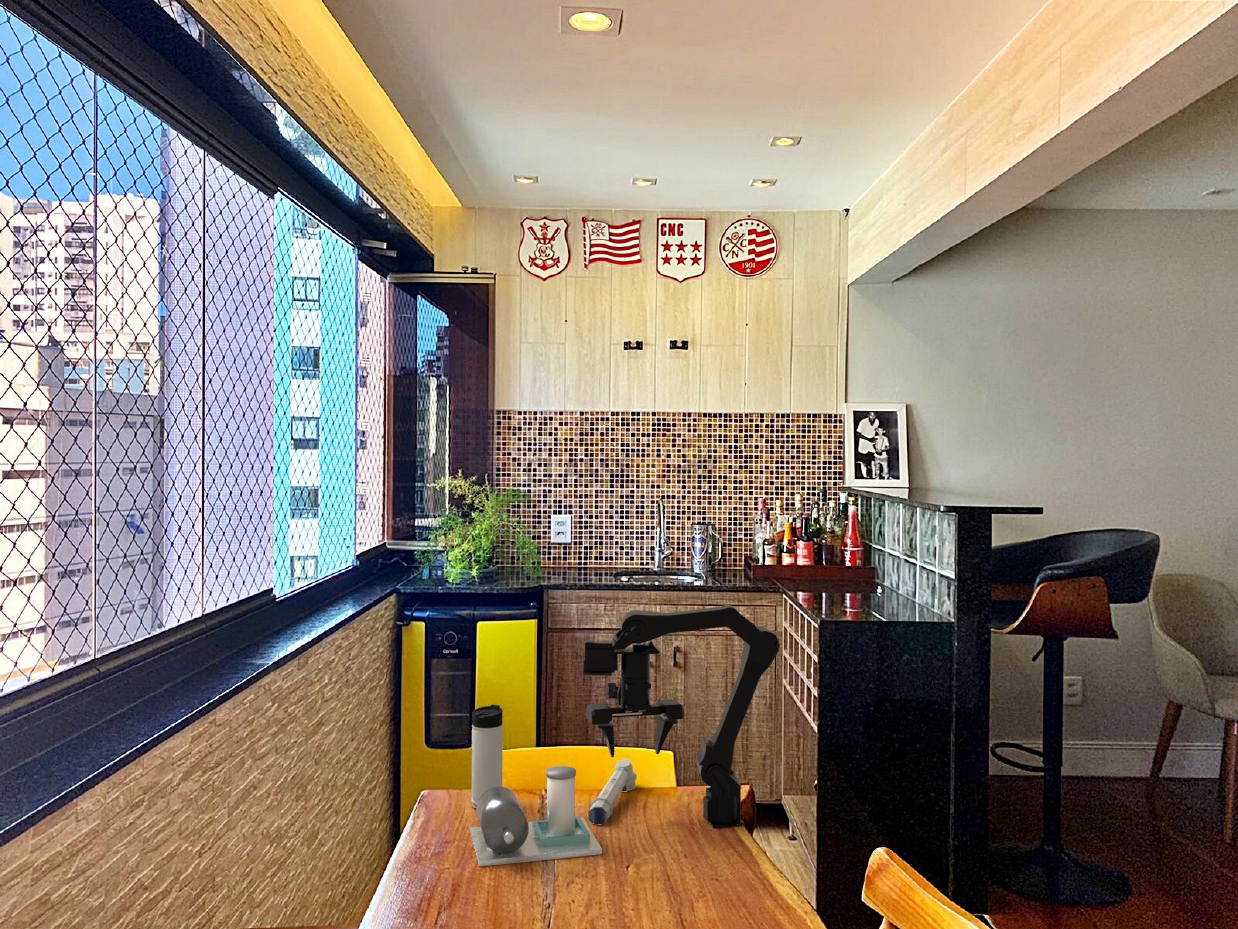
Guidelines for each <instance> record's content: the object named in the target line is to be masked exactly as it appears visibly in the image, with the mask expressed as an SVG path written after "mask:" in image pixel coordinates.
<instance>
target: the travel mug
mask: <svg viewBox="0 0 1238 929" xmlns="http://www.w3.org/2000/svg"><path fill="white" fill-rule="evenodd" d="M503 711H504V710H503V708H502V707H501V706H500V705H499V704H490V705H485V706H480V707H478V708H475V709H474V710H473V711H472V714H471V715H472V718H471V721H472V722H471V723H472V725H471V727H472V728H471V729H472V730H471V805H472V804H473V805H474V806H475V807H477V803H478V800H479V798H480V797H481V795H482V794H483V793H484V792H485V791H487V790H488V789H490V788H493V787H503V762H504V761H503V754H504V751H503V748H504V747H503V746H504V745H503V744H504V742H503V740H504V738H503V736H504V735H503V734H504V732H503V731H504V730H503V728H504V727H503V726H504V723H503V718H504V717H503V713H504V712H503Z"/></svg>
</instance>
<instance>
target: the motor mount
mask: <svg viewBox="0 0 1238 929" xmlns="http://www.w3.org/2000/svg"><path fill="white" fill-rule="evenodd" d="M475 810H476V811H475V812H476V816H477V819H478V823H479V826H470V827H469V834H470V833H471V835H470V838H471V837H472V839H471V842H472V841H473V843H472V846H473V845H474V846H473V850H474V849H475V850H474V853H475V852H476V854H475V857H476V856H477V857H476V860H478V861H477V863H478V864H479V865H478V867H479V866H480V867H488V866H498V865H508V864H519V863H528V862H529V863H531V862H541V861H548V860H549V861H550V860H558V859H568V858H580V857H590V856H599V855H600V856H601V855H602V854H603V848H602V847H601V845H600V843H599V841H598V839H597V838H596V837H595V835H594V834H593V831H592V830H591V828H590V827H589V825H588V823H587V822H586V820H585V819H584V817H580V816H575V834H574V835H563V836H552V837H547V819H540V820H532V821H528V820H527V817H526V815H525V813H524V810H523V809H522V806H521V804H520V802H519V799H518V797H517V795H516V793H515V792H514V791H513V790H511V789H510V788H507V787H506V786H502V787H493V788H490V789H488V790H487V791H485V792H484V793H483V794H482V795H481V797H480V798H479V800H478V803H477V808H476V809H475Z"/></svg>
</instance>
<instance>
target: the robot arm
mask: <svg viewBox="0 0 1238 929" xmlns="http://www.w3.org/2000/svg"><path fill="white" fill-rule="evenodd" d="M718 628H719V629H721V628H728V629H729V630H730V631H731V632H733V633H734V634H735V635H736V636H737V637H739V638H740V639H742V640H743V642H744V643H743V648H742V655H741V665H740V668H739V672H738V673H737V676H736V679H735V682H734V685H733V687H732V690H731V692H730V694H729V697H728V700H727V703H726V705H725V708H724V709H723V712H722V715H721V718H720V721H719V723H718V725H717V727H716V731H714V734H713V735H712V736H711V737H710V738H709V739H708V738H707V737H704V736H703V737H702V739H701V742H700V748H699V749H698V751H697V752H696V753H695V756H696V760H697V761H696V763H697V764H696V766H697V769H698V772H699V774H700V777H701V779H702V780H701V781H702V782H704V783H705V784H706V785H707V786H709V787H706V788H705V796H703V804H702V807H703V808H702V810H703V812H702V813H703V814H702V817H703V819H704V820H705V821H706V820H707V821H708V822H709V823H710V824H711V825H712V826H713V827H712V826H711V825H710V824H709V823H708V822H707V823H708V824H709V825H710V826H711V827H712V828H724V827H735V826H744V825H745V821H744V820H742V815H741V814H742V813H741V812H742V808H741V806H742V805H741V802H742V795H741V794H742V790H741V789H742V785H741V783H740V781H739V780H738V777H737V775H736V773H735V772H734V770H733V769H732V767H733V760H734V750H735V744H736V740H737V738H738V735H739V733H740V730H741V729H742V725H743V723H744V720H745V718H746V716H747V713H748V711H749V707H750V705H751V702H752V699H753V697H754V695H755V692H756V689H757V687H758V683H759V682H760V679H761V677H762V676H763V675H764V674H765V673H766V672H767V670H768V669H769V667H770V666H771V664H772V663H773V661H775V659H776V657H777V655H778V654H779V651H780V641H779V639H778V637H777V636H776V635H775V633H773V631H771V630H770V629H769V628H767V627H766V626H762V625H756V624H754V623H753V622H752V621H750V620H749V618H747V617H745V616H744V615H743V614H741V613H740V612H739V611H738V609H736V608H735V607H734V606H733V605H731V604H723V605H722V606H715V607H709V608H708V607H706V608H705V607H704V608H699V609H698V608H697V609H690V610H689V609H687V610H682V611H672V612H659V611H653V610H652V611H651V610H637V609H635V610H634V609H633V610H630V611H628V612H626V613H625V614H624V616H622V619H621V621H620V629H619V630H617V632H616V634H615V635H614V636H613V638H612V639H611V641H594V640H585V641H584V655H583V677H612V676H613V674H615V672H618V668H619V667H618V666H619V665H618V662H619V661H618V659H619V658H618V657H619V656H618V655H620V678H619V681H618V682H619V685H618V686H617V682H607V683H605V688H604V689H605V695H604V696H605V700H607V701H610V700H611V701H612V700H614V705H617V706H618V707H611V706H610V705H609V704H608V703H606V702H601V703H598V702H597V703H588V705H587V706H586V708H585V718H586V719H587V720H588V721H589V723H590V724H591V725H594V726H596V727H597V728H598V729H600V730H601V732H602V734H603V737H604V739H605V743H606V747H607V749H608V752H609V755H610V757H611V758H612V759H613V758H614V757H615V732H614V728H615V727H614V725H613V723H612V720H613V719H614V718H627V717H628V718H631V717H645V716H655V720H656V731H655V742H654V743H655V746H654V747H655V748H654V749H655V754H656V755H659V754H660V753H661V750H662V748H663V746H664V743H665V741H666V739H667V736H668V735H669V733H670V732H671V729H672V728H673V726H674V725H677V724H678V723H679V720H683V719H685V708H684V706H683V705H682V703H680V702H679V701H677V700H676V699H674V698H672V699H669V698H667V699H658V700H657V702H656V704H651V702H650V701H651V700H650V699H651V698H650V697H651V696H650V695H651V692H650V691H651V690H652V682H651V655H659V654H660V649H659V647H658V646H656V645H655V643H654V641H653V640H656V639H658V638H661V637H663V636H665V635H670V634H678V633H685V632H686V633H687V632H695V631H700V630H701V631H704V630H711V629H718ZM631 645H632V646H631ZM630 646H631V647H630ZM619 706H620V707H619Z"/></svg>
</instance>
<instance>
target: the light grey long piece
mask: <svg viewBox="0 0 1238 929" xmlns="http://www.w3.org/2000/svg"><path fill="white" fill-rule="evenodd" d="M631 762H632V761H631V760H629V759H626V758H624V759H620V760H617V761H616V764H615V766H614V773H612V775H611V777H610V778H609V779H608V781H607V783H606V784H605V786H604V787H603V789H602V790H601V792H600V793H599V794H598V795H597V797H596V798H595V799H594V800H593V801H592V802H591V803H590V809H589V810H588V812H587V815H588V816H587V817H588V818H587V820H588V821H589V822H590V823H591V824H592V823H594V824H593V825H596V824H602V825H601V826H604V824H606V823H607V822H608V820H609V818H610V817H611V816H612V815H613V814H614V810H613V809H614V808H615V805H616V803H617V801H618V799H619V797H620V795H621V793H622V792H621V791H629V790H631V791H635V789H636V780H637V778H638V777H637V773H636V772H635V771H634V769H633V764H632V763H631Z"/></svg>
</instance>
